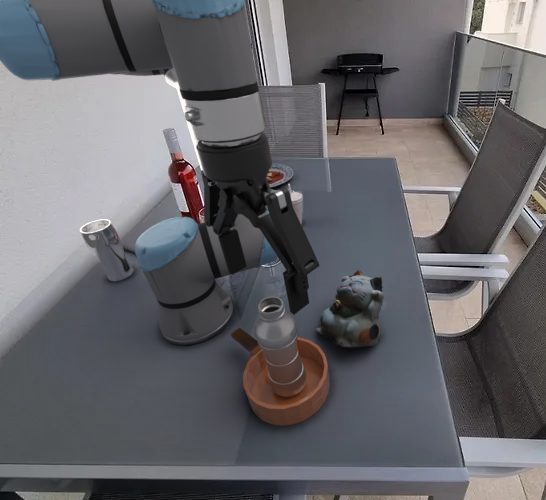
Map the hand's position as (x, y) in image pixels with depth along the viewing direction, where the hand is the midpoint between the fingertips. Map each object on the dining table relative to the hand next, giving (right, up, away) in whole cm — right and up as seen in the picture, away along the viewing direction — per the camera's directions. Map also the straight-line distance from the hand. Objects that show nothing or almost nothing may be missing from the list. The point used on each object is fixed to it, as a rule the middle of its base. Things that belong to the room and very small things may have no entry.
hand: (266, 287), depth 49 cm
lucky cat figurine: (+12, -11, +25) cm, 30 cm away
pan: (+1, -19, +14) cm, 24 cm away
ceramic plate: (-24, +33, +92) cm, 101 cm away
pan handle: (-8, -14, +18) cm, 24 cm away
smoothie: (-5, +14, +62) cm, 64 cm away
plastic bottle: (+1, -19, +14) cm, 24 cm away
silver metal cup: (-49, -1, +44) cm, 66 cm away
